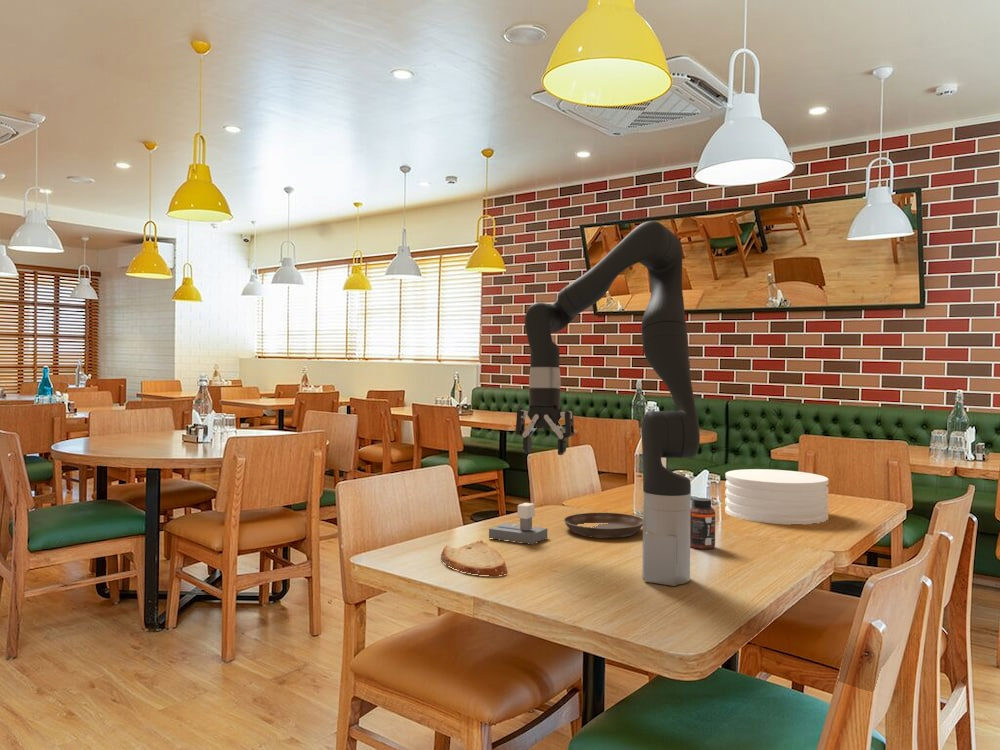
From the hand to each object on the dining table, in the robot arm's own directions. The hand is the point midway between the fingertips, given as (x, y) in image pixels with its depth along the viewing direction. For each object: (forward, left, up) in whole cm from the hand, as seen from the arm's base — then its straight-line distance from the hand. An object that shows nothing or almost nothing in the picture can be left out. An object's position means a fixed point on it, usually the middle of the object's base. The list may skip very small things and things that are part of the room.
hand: (544, 453), depth 170 cm
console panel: (0, +7, -21) cm, 22 cm away
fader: (-1, +4, -19) cm, 19 cm away
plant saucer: (+19, -8, -22) cm, 30 cm away
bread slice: (-24, +4, -22) cm, 33 cm away
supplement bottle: (+15, -34, -22) cm, 43 cm away
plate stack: (+66, -43, -22) cm, 82 cm away
